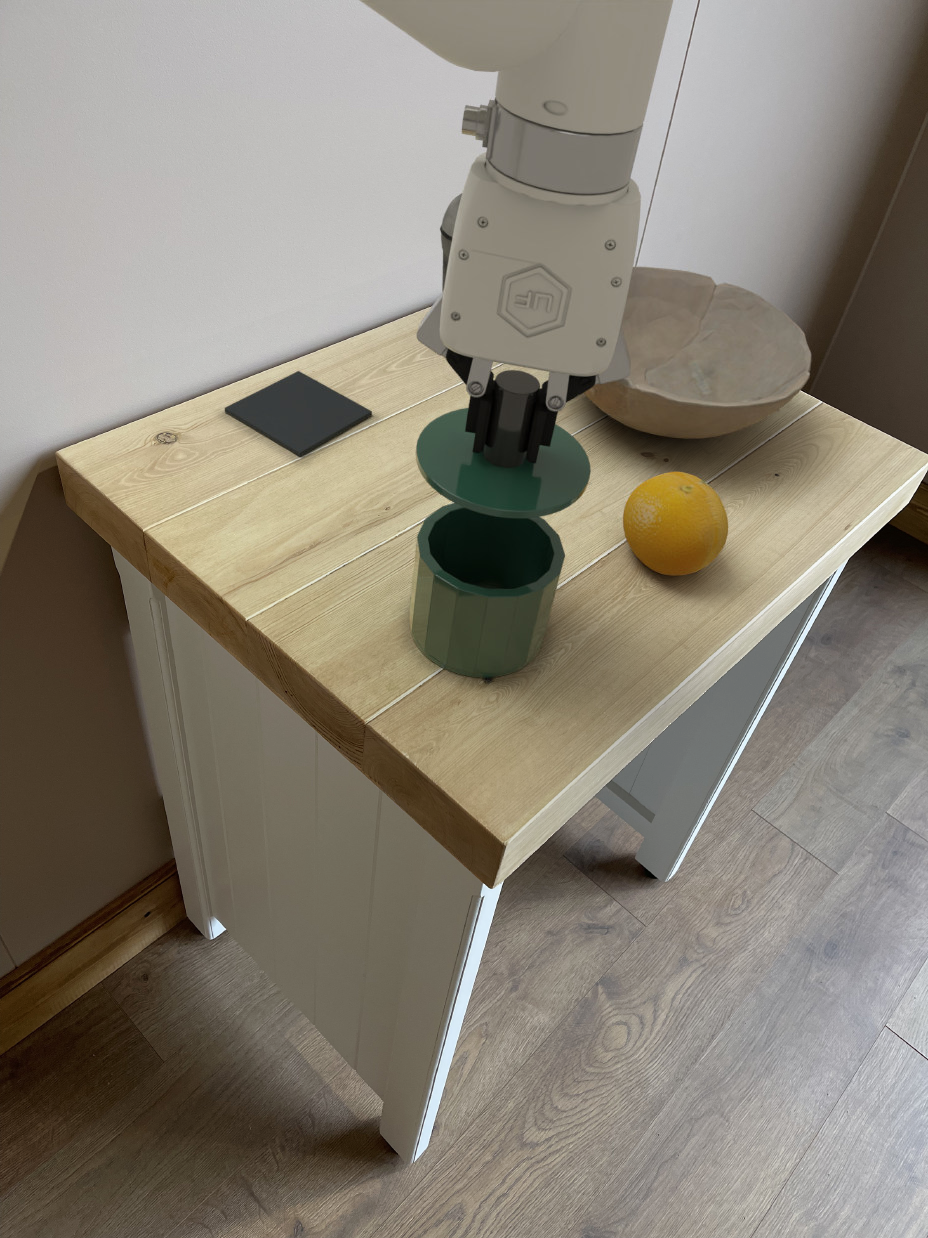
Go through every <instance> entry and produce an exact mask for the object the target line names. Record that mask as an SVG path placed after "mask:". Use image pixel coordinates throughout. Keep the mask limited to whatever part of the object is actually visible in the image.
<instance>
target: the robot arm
mask: <svg viewBox="0 0 928 1238" xmlns="http://www.w3.org/2000/svg"><path fill="white" fill-rule="evenodd" d="M359 1H360V2H361V3H362V4H363V5H365V6H367V8H370V9H371V10H372V11H374V12H375V13H376V14H378V15H379V16H381V17H383V18H384V19H385V20H387V21H388V22H389V23H391V24H393V26H395V27H396V28H398V29H399V30H401V31H402V32H403V33H405V34H406V35H407V36H409V37H411V38H413V40H414V41H416V42H417V43H418V44H421V45H422V46H423V47H425V48H426V49H428V50H429V51H431V52H432V53H434V54H435V55H436V56H438V57H439V58H441V59H443V60H444V61H446V62H448V63H449V64H452V65H454V66H456V67H459V68H462V69H466V70H470V71H474V72H486V73H496V72H497V77H496V86H495V92H494V96H495V97H494V100H493V99H489V101H488V104H487V105H486V104H480V105H479V106H474V105H469V104H466V105H465V106H464V109H463V116H462V121H461V134H462V135H466V136H473V137H475V138H474V139H475V140H476V141H482V146H481V147H482V148H486V152H483V153H481V154H479V155H478V156H477V157H476V158H475V159H474V161H473V163H472V164H471V166H470V169H469V172H468V174H467V177H466V180H465V183H464V186H463V189H462V192H461V193H462V197H461V200H460V204H459V208H458V213H457V217H456V222H455V227H454V232H453V238H452V243H451V249H450V255H449V261H448V267H447V273H446V279H445V286H444V290H443V292H442V291H441V293H440V294H439V296H438V297H437V299H436V300H435V302H434V303H433V304H432V306H431V307H430V308H429V310H428V311H427V312H426V314H425V315H424V317H423V318H422V320H421V321H420V323H419V326H418V329H417V331H416V339H417V340H418V341H419V343H421V344H422V345H423V346H425V347H426V348H428V349H429V350H431V351H432V352H434V353H435V354H437V355H438V356H440V357H441V356H442V357H443V358H444V359H445V360H446V363H447V364H448V365H449V367H451V369H452V370H453V371H454V372H455V374H456V375H457V376H458V377H459V379H460V380H462V382H463V383H464V385H466V386H465V389H466V392H467V394H468V395H469V402H468V407H467V408H468V414H467V421H466V427H465V432H470V433H475V439H474V445H473V451H472V452H474V453H480V452H484V447H485V442H486V436H487V430H488V424H489V418H490V412H491V406H492V400H493V390H494V384H495V374H494V372H493V371H492V368H493V364H494V363H499V364H504V365H509V366H515V367H519V368H526V369H532V370H537V371H543V372H548V379H547V380H545V381H544V382H542V385H541V387H540V389H539V394H538V399H537V402H536V407H535V412H534V417H533V422H532V427H531V431H530V436H529V441H528V446H527V451H526V458H525V459H526V460H528V462H530V463H536V460H537V456H538V451H539V447H540V445H542V446H548V447H550V445H551V440H552V436H553V432H554V427H555V424H556V423H557V419H558V413H559V412H560V411H563V410H564V408H565V406H566V404H567V403H569V401H572V400H573V399H575V398H577V397H579V396H580V395H582V394H584V392H586V391H587V390H589V389H591V388H592V387H593V386H594V385H596V384H600V385H601V384H605V383H609V382H613V381H617V380H621V379H625V378H627V377H628V376H629V375H630V373H631V359H630V355H629V351H628V348H627V344H626V340H625V336H624V332H623V328H622V324H621V322H622V318H623V313H624V309H625V304H626V299H627V295H628V290H629V285H630V279H631V274H632V269H633V267H634V264H635V258H636V251H637V245H638V238H639V227H640V221H641V219H640V218H641V205H642V204H641V199H642V196H641V192H640V189H639V186H638V184H637V182H636V181H635V180H634V179H633V178H631V177H632V172H633V170H634V169H633V168H634V165H635V160H636V157H637V153H638V148H639V144H640V139H641V136H642V132H643V128H644V122H645V119H646V115H647V111H648V106H649V102H650V98H651V94H652V89H653V86H654V82H655V77H656V73H657V69H658V66H659V60H660V57H661V52H662V49H663V44H664V40H665V36H666V32H667V28H668V24H669V19H670V15H671V11H672V7H673V3H674V0H359ZM600 342H601V343H600Z"/></svg>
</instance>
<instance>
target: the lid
mask: <svg viewBox="0 0 928 1238" xmlns="http://www.w3.org/2000/svg"><path fill="white" fill-rule="evenodd" d="M494 380H495V384H494V390H493V400H492V406H491V412H490V418H489V424H488V430H487V436H486V442H485V447H484V452H480V453H474V452H472V451H473V445H474V439H475V433H470V432H465V427H466V421H467V414H468V407H465V408H460V409H456V410H451V411H449V412H447V413H444V414H441V415H439V416H437V417H436V418H435V419H433V420H432V421H430V422H428V424H427V425H426V426H425V427H424V428H423V429H422V431H421V432H420V433H419V436H418V438H417V439H416V440H417V441H416V447H415V462H416V466H417V468H418V471H419V473H420V474H421V476H422V477H423V479H424V480H425V482H426V483H427V484H428V485H429V486H430V487H431V488H432V489H433V490H434V491H435V492H437V494H440V495H441V496H442V497H443V498H445V499H446V500H448V501H450V502H451V503H456V504H457V505H459V506H462V507H464V508H467V509H469V510H472V511H475V512H479V513H482V514H486V515H491V516H496V517H504V518H534V517H541V518H542V517H545V516H550V515H553V514H556V513H560V512H561V511H563V510H565V509H567V508H569V507H571V506H572V505H573V504H575V503H576V502H577V501H578V500H579V499H580V498H581V497H582V496H583V495H584V494H585V492H586V490H587V488H588V486H589V482H590V478H591V462H590V459H589V456H588V454H587V452H586V450H585V448H584V447H583V445H582V444H581V443H580V442H579V441H578V440H577V439H576V437H574V436H573V435H572V434H571V433H570V432H569V431H567V430H565V429H564V428H563V427H561V426H559V424H558V425H557V424H556V423H555V427H554V432H553V436H552V440H551V445H550V447H548V446H542V445H540V447H539V451H538V456H537V460H536V463H530V462H528V460H526V459H525V458H526V451H527V446H528V441H529V436H530V431H531V427H532V422H533V417H534V412H535V407H536V402H537V399H538V394H539V389H540V388H541V383H540V381H539V379H538V378H537V377H536V376H534V375H532V374H531V373H529V372H526V371H524V370H519V369H518V370H517V369H508V370H503V371H500V372H499V373H498V374H496V376H495V377H494Z"/></svg>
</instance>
